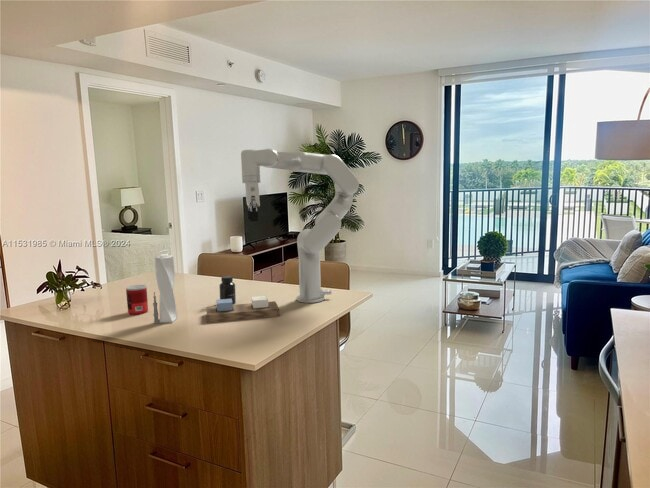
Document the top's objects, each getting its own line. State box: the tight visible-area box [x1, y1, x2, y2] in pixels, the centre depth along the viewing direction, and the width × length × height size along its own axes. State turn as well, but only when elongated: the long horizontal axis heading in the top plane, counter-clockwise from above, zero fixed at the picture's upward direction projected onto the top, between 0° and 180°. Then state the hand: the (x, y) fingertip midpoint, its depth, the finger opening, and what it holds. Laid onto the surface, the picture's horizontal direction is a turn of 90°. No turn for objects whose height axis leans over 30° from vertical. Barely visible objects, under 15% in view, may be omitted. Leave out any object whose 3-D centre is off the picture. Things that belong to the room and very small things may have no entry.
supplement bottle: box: [218, 275, 237, 305], centre depth 209 cm, size 7×7×12 cm
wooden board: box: [206, 301, 281, 324], centre depth 192 cm, size 28×12×3 cm, turn 104°
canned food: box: [125, 284, 149, 316], centre depth 199 cm, size 8×8×11 cm
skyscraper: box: [152, 249, 178, 325], centre depth 185 cm, size 8×8×28 cm
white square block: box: [251, 295, 269, 308], centre depth 193 cm, size 6×6×3 cm
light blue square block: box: [216, 299, 234, 312], centre depth 190 cm, size 6×6×3 cm
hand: (253, 220), depth 203 cm, fingers open, 9 cm apart
